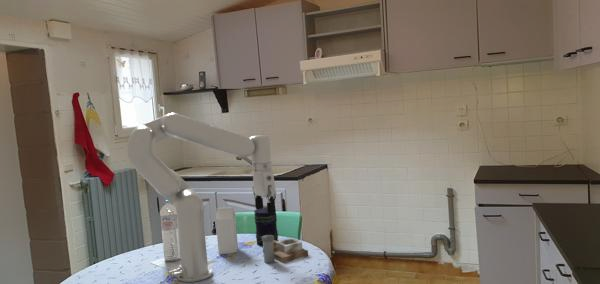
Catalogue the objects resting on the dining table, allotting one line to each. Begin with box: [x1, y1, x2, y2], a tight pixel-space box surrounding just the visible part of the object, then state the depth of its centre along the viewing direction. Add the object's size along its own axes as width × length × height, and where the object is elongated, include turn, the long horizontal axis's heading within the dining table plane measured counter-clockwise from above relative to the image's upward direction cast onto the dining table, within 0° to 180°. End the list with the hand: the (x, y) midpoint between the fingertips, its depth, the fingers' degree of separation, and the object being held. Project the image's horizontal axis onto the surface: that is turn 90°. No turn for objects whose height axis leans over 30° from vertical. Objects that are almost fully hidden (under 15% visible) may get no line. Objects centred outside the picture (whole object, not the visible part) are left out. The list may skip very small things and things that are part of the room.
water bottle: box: [159, 199, 181, 262], centre depth 183 cm, size 7×7×25 cm
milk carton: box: [215, 206, 239, 255], centre depth 189 cm, size 7×7×19 cm
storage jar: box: [253, 207, 279, 247], centre depth 197 cm, size 10×10×15 cm
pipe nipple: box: [262, 235, 276, 264], centre depth 173 cm, size 5×5×10 cm
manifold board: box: [262, 237, 309, 264], centre depth 180 cm, size 12×16×5 cm
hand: (265, 210), depth 172 cm, fingers open, 9 cm apart
